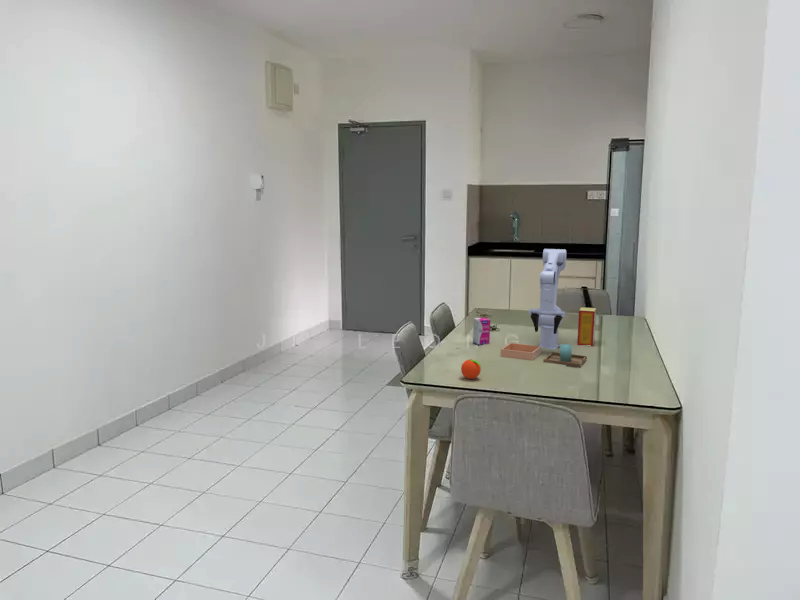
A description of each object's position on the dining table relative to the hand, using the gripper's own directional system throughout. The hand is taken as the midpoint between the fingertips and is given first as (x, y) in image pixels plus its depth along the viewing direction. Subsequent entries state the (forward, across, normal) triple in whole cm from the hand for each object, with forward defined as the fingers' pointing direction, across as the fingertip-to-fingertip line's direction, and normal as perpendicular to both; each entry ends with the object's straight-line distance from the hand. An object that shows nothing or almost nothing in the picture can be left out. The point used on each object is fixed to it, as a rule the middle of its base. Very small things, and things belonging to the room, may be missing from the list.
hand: (545, 332), depth 251 cm
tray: (+9, +10, -7) cm, 15 cm away
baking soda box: (+10, +11, +30) cm, 33 cm away
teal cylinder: (+9, +10, -7) cm, 15 cm away
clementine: (+10, -14, -48) cm, 51 cm away
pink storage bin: (+9, -8, -7) cm, 14 cm away
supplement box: (+10, -30, +6) cm, 32 cm away
